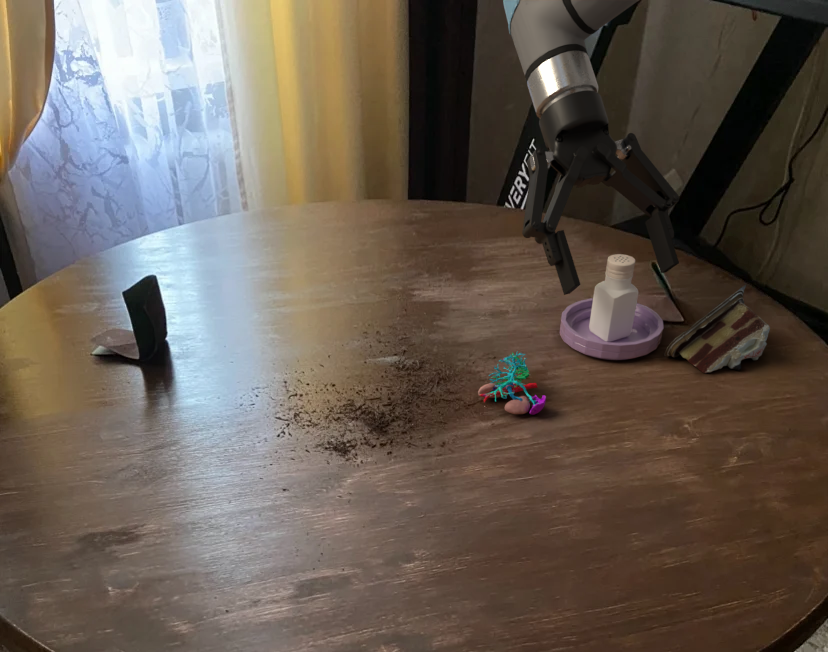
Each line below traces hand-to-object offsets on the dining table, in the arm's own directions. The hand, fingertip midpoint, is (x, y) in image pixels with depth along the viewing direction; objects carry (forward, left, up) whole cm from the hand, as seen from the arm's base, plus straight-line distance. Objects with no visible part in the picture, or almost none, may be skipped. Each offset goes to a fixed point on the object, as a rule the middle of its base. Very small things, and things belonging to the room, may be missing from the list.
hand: (622, 279), depth 98 cm
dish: (0, 0, -8) cm, 8 cm away
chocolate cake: (-13, +2, -8) cm, 15 cm away
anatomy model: (+11, +16, -8) cm, 22 cm away
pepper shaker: (0, -1, -8) cm, 8 cm away
